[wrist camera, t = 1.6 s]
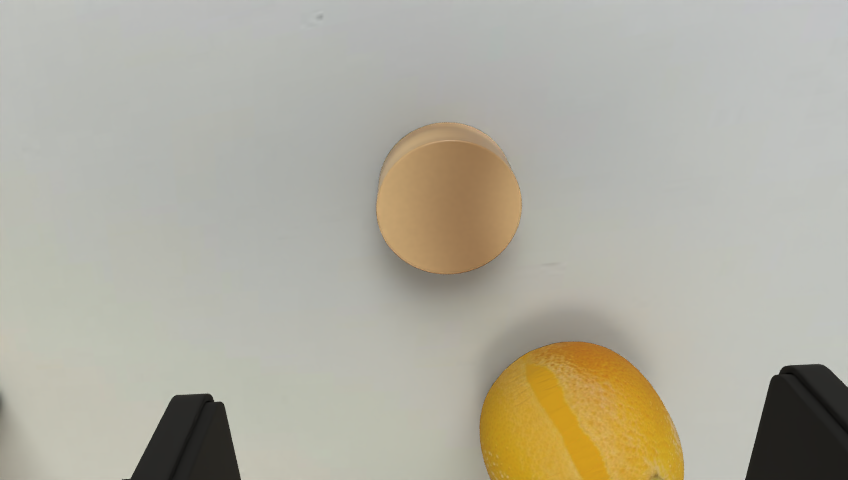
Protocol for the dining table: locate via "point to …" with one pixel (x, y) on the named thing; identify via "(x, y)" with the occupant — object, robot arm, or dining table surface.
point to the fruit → (577, 419)
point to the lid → (447, 199)
